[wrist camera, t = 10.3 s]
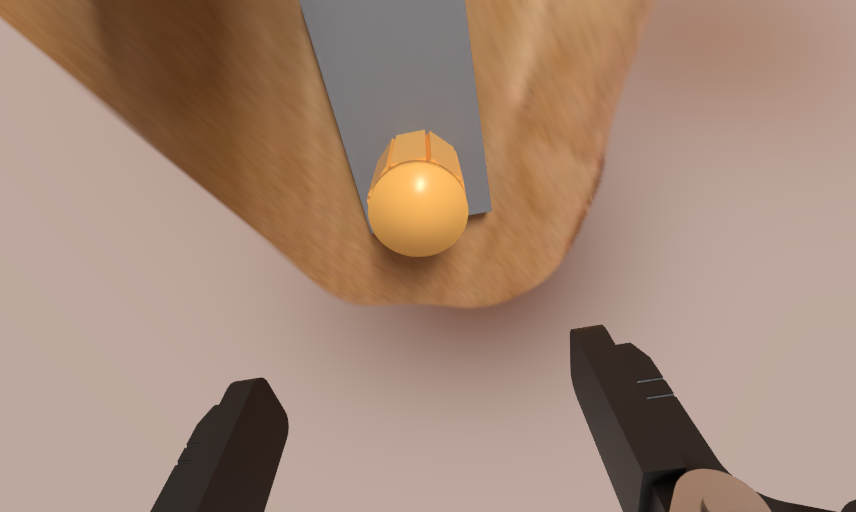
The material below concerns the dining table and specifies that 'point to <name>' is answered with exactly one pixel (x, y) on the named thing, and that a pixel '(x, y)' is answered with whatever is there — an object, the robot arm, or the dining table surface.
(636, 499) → the robot arm
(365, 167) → the board
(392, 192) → the wire nut
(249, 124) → the dining table surface
